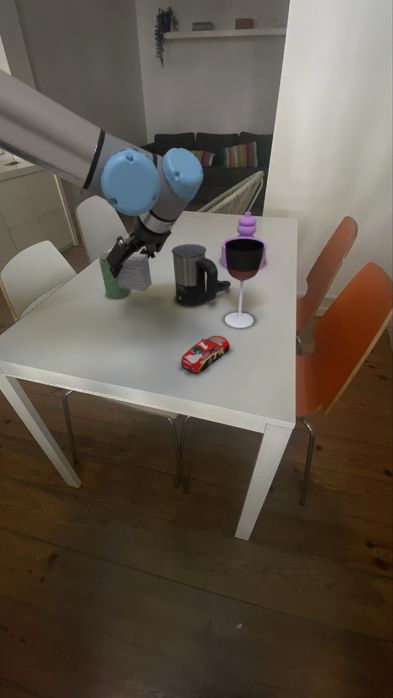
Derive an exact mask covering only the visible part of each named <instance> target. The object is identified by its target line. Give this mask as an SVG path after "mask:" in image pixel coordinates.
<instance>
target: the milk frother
mask: <svg viewBox="0 0 393 698" xmlns="http://www.w3.org/2000/svg"><path fill="white" fill-rule="evenodd" d="M206 252H207V248H206V246H204V245H201V244H196V243H185V244H180V245H179V244H178V245H177V246H174V247H173V248H171V253H172V259H173V261H172V262H173V270H174V271H173V272H174V283H175V299H174V300H175V302H176V303H177V304H179V305H180V306H183V307H184V306H185V307H196V306H200V305H203V304H204V303H206V301H207V302H212V301H214V300H215V299H216V298H217V294H218V293H221V292H223V291H225V290H227V289H228V288H230V287H231V285H232V284H231V281H229V280H219V271H218V267H217V265H216V264H215V262H214V261H212V259H210V258H207V257H206Z"/></svg>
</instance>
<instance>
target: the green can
mask: <svg viewBox="0 0 393 698" xmlns="http://www.w3.org/2000/svg"><path fill="white" fill-rule="evenodd" d="M110 252H111V251H105V252H102V253H101V254H100V255H99V257H98V262H99V266H100V270H101V271H100V272H101V276H102V280H103V284H104V290H105V294H106V296H107V298H109V299H113V300H116V299H117V300H118V299H122V298H125V297H127V296H128V295H129V294H130V292H129V291H130V290H129V289H125V288H119V284H118V279H117V278H114V277H113V275H112V274H111V272H110V270H109V269H110V266H109V264H108V262H107V260H106V258H107V256H108V255H109V253H110Z"/></svg>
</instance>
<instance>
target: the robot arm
mask: <svg viewBox="0 0 393 698" xmlns="http://www.w3.org/2000/svg"><path fill="white" fill-rule="evenodd" d="M0 150H2V151H5V152H7V153H9V154H11V155H13V156H15V157H17V158H19V159H21V160H23V161H25V162H27V163H29V164H31V165H34V166H36V167H38V168H40V169H42V170H44V171H46V172H48V173H51V174H53V175H55V176H57V177H59V178H61V179H63V180H65V181H67V182H69V183H71V184H74V185H75V186H77V187H79V188H81V189H83V190H85V191H87V192H89V193H90V194H93V195H95V196H96V197H99V198H100V199H103V200H105V201H106V203H107V204H108V205H110V206H111V207H112V208H113V209H114V210H116V211H117V212H119V213H120V214H123V215H126V216H130V217H134V219H133V220H132V221H133V222H132V230H131V232H129V234H128V236H127V237H125V238H124V237H123V236H122V235H119V236H117V238H116V242H115V244H114V245H113V247H112V248H111V250H110V251H109V252H110V253H109V255H108V256H107V258H106V260H107V262H108V264H109V266H110V269H109V270H110V272H111V274H112V275H113V277H114V278H117V276H118V274H119V273H120V271H121V269H122V267H123V265H122V264H123V263H124V262H125V261H126V260H127V259H128V258H129V257H130V256H131V255H132V254H133V253H138V254H146V255H148V260H150V258H151V260H152V259H155V258H156V254H159V253H160V252H161V251H162V249H163V247H164V245H165V243H166V241H167V240H168V238H169V237H170V236H171V235H172V233H173V232H172V229H173V228H174V225H175V224H176V222H177V221H178V219H179V218H180V217H181V215H182V214H183V212H184V211H185V210H186V208H187V207H188V205H189V204H190V202H192V200H193V199H194V198H195V196H196V194H197V192H198V191H199V189H200V186H201V185H202V183H203V181H204V170H203V167H202V166H203V165H202V163H201V162H200V160H199V159H198V158H197V157H196V156H195V155H194V154H193V153H192V152H191V151H190V150H188V149H185V148H182V147H180V148H176V147H172V148H171V149H169V150H168V151H167V152H166V153H165V154H164V155H163V156H162V155H160V154H156V153H153V152H150V151H149V150H145V149H144V148H141V147H139V146H137V145H135V144H133V143H130V142H129V141H126V140H124V139H121V138H119V137H117V136H115V135H113V134H111V133H109V132H107V131H105V130H103V129H101V128H100V127H99V126H97V125H95V124H94V123H93V122H90V121H89V120H87V119H86V118H84V117H82V116H81V115H79V114H78V113H75V112H74V111H72V110H70V109H69V108H67V107H65V106H64V105H62V104H60V103H59V102H57V101H55V100H53V99H52V98H50V97H49V96H47V95H45V94H43V93H42V92H40V91H38V90H36V89H35V88H33V87H32V86H30V85H28V84H26V83H25V82H23V81H21V80H20V79H18V78H16V77H15V76H13V75H11V74H9V73H8V72H7V71H5V70H3V69H1V68H0ZM155 253H156V254H155Z"/></svg>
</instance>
